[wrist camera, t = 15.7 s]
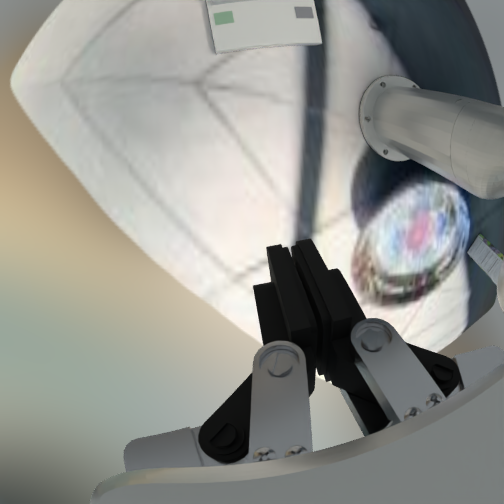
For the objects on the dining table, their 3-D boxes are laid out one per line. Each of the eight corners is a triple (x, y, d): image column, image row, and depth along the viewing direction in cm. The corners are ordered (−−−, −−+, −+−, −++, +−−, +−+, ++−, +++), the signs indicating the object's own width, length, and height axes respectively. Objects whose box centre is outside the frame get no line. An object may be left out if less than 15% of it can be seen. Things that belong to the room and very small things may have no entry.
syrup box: (486, 241, 46) (523, 277, 34) (473, 260, 48) (508, 299, 36) (479, 232, 44) (519, 270, 32) (465, 253, 46) (503, 293, 34)
